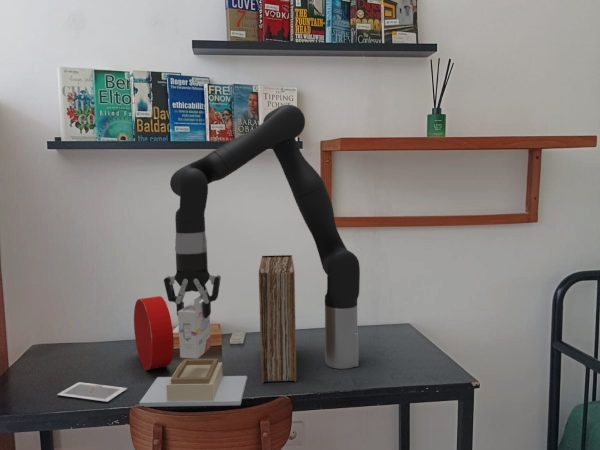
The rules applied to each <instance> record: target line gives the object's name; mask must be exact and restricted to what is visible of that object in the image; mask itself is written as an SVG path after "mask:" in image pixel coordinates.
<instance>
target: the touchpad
mask: <svg viewBox="0 0 600 450" xmlns="http://www.w3.org/2000/svg"><path fill="white" fill-rule="evenodd" d="M126 390H128V387H120V386H112V385H106V384H105V385H104V384H96V383H88V382H81V381H80V382H76V383H75V384H73V385H71V386H70V387H67V388H66V389H64V390H62V391H60V392H59V393H57V394H56V395H57V396H63V397H70V398H77V399H84V400H93V401H99V402H100V401H101V402H106V403H108V402H109V401H111V400H113V399H114V398H116V397H118V395H120V394H122V392H124V391H126Z"/></svg>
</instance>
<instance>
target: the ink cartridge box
mask: <svg viewBox="0 0 600 450" xmlns="http://www.w3.org/2000/svg"><path fill="white" fill-rule="evenodd" d="M201 300H203V298H202V296H201V295H199V296H198V297H196V298H194V299H193V302H191V303H189V304H187V305H186V306H184V308H183V309H181V310H179V311H178V316H177V321H178V336H179V337H178V338H179V339H178V340H179V342H178V343H179V357H180V358H182V359H200V358H201V357H202V356H203V355H204V353H206V352H207V351H208V350H209V349H210V348H211V347H212V345H211V343H212V342H211V321H210V319H211V318H210V315H209V316H208V318H204V303H205V302H204V300H203V301H202V302H200V301H201Z"/></svg>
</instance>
